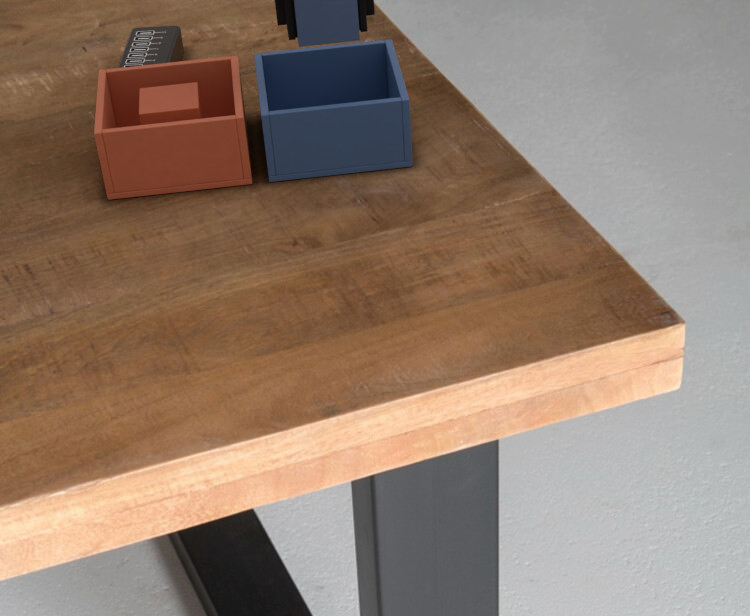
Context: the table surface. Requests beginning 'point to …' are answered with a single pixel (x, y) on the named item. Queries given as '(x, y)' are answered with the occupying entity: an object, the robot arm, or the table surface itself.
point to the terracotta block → (169, 103)
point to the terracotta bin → (172, 131)
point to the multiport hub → (153, 46)
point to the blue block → (326, 21)
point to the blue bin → (333, 110)
